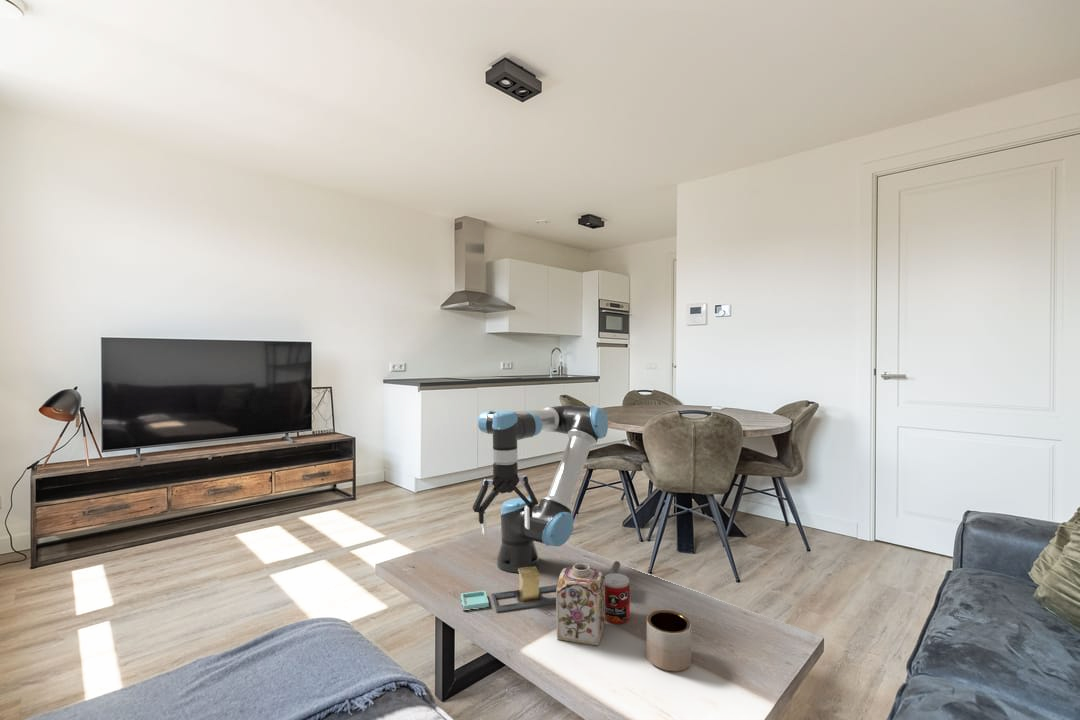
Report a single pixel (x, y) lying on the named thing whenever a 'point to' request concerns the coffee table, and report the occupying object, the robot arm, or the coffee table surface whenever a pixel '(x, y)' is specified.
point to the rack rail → (524, 604)
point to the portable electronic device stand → (615, 568)
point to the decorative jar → (580, 604)
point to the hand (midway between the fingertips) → (506, 530)
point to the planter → (668, 640)
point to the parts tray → (475, 600)
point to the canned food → (617, 598)
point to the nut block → (528, 584)
